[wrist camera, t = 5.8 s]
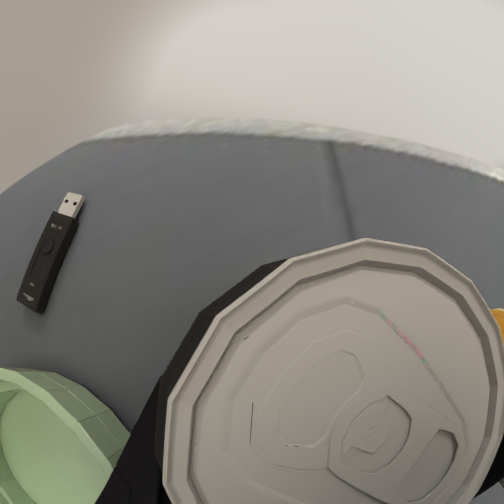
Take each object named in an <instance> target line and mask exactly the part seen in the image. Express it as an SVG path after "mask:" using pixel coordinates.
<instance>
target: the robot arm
mask: <svg viewBox="0 0 504 504" xmlns="http://www.w3.org/2000/svg"><path fill="white" fill-rule="evenodd" d="M162 376H163V375H162ZM162 376H161V377H162ZM161 377H160V378H159V380H158V382H157V384H156V386H155V388H154V390H153V392H152V394H151V396H150V397H149V399H148V401H147V403H146V405H145V407H144V409H143V411H142V413H141V415H140V417H139V419H138V421H137V423H136V425H135V427H134V429H133V431H132V433H131V435H130V437H129V439H128V441H127V443H126V445H125V447H124V449H123V451H122V453H121V455H120V457H119V459H118V461H117V463H116V466H117V467H114V469H113V471H112V473H111V475H110V477H109V479H108V481H107V483H106V485H105V487H104V489H103V490H102V492H101V494H100V495H99V497H98V499H97V500H96V502H95V503H94V504H172V503H171V501H170V499H169V497H168V494H167V492H166V490H165V488H164V486H163V483H162V478H163V474H162V471H161V469H160V467H159V464H158V462H157V459H156V457H155V454H154V448H155V432H156V418H157V406H158V395H159V385H160V379H161ZM497 482H499V483H500V484H501V485H502V487H503V488H504V434H503V438H502V440H501V443H500V446H499V448H498V451H497V453H496V455H495V458H494V460H493V462H492V465H491V467H490V469H489V471H488V473H487V475H486V477H485V479H484V481H483V483H482V485H481V487H480V489H479V491H478V492H477V494H476V495H475V496H474V498H475V497H477V496H478V495H480V494H481V493H483V492H484V491H486V490H487V489H489V488H490V487H492V486H493V485H494V484H496V483H497Z"/></svg>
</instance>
